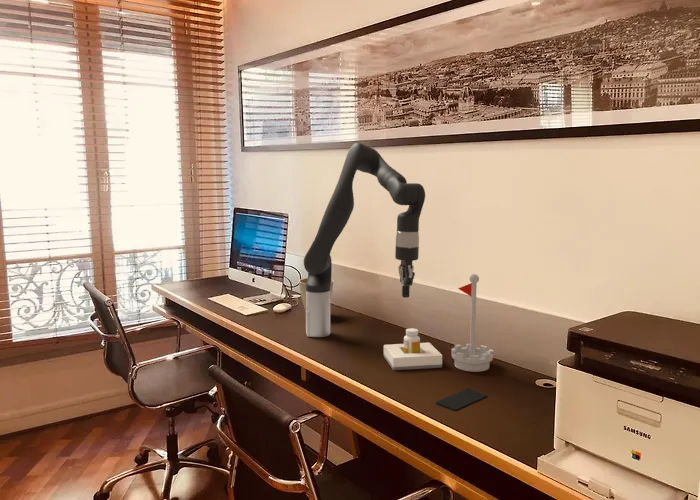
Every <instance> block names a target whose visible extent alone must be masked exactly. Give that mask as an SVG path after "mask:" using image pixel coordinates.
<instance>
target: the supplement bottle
mask: <svg viewBox="0 0 700 500" xmlns="http://www.w3.org/2000/svg"><path fill="white" fill-rule="evenodd" d="M420 343H421V338H420V336H419V330H418V329H417V328H413V327H412V328H406V329H405V335H404V336H403V344H404V354H409V353H420Z"/></svg>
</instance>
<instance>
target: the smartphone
mask: <svg viewBox="0 0 700 500" xmlns="http://www.w3.org/2000/svg"><path fill="white" fill-rule="evenodd" d="M487 398H488V394H486V393H484V392H481V391H477V390H475V389H471V388H466V389H463V390H461V391H458V392H456V393H453V394H451V395H449V396H446V397H444V398H441V399H439V400H436V401H435V404H436V406H437V405H438V406H440V407H442V408H445V409H448V410H450V411H453V412H457V411H459V410H461V409H462V410H463V409H464V408H466V407H468V406H471V405H473V404H475V403H478V402H480V401H481V400H484V399H487Z"/></svg>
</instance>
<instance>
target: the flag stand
mask: <svg viewBox="0 0 700 500" xmlns="http://www.w3.org/2000/svg"><path fill="white" fill-rule="evenodd" d="M479 281H480V277H479V275H477V274H475V273H473V274H471V275H470V276H469V282H470V283H468V284H466V285H463V286H461V287H458V290H459V291H461V292H463V293H465V294H466V295H468V296H469V297H470V299H471V300H470V327H469V328H470V329H469V330H470V331H469V332H470V335H469V338H470V339H469V343H466V344H465V345H466V346H464V347H462V345H461V344H456V345H454V347H451V358H452V359H453V360H454V366H455V367H456V368H457V369H459V370H461V371H464V372H465V371H466V372H475V373H476V372H478V373H479V372H484V371H488V370H489V369H490V362H492V361H493V359H494V350H493V349H491V348H489V346H486V345H482V344H481V345H479V347H476V345H475V344H476V319H477V317H476V316H477V315H476V312H477V310H476V309H477V283H478V282H479Z"/></svg>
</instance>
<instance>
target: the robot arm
mask: <svg viewBox="0 0 700 500" xmlns="http://www.w3.org/2000/svg"><path fill="white" fill-rule="evenodd" d="M357 171H360V172H362V173H366V174H370V175H372V176H374V177H375V178H376V179H377V182H378V183H379V185H380V186H381V187H383V188H384V189H385V190H386V191H387V192H388V193H389V196H391V200H392V201H393V202H394V203H395V204H396V205H399V206H408V208H407V210H406V211H403V212H401V213H400V212H399V213H398V214H397V217H396V219H397V220H396V236H395V251H394V252H395V253H394V254H395V257H394V258H395V259H396V260H397V261H400V263H399V266H398V273H399V282H400V284H401V297H402V298H404V299H405V298H407V299H408V298H410V291H411V290H410V288H411V286H412V285H413V281H414V279H415V275H416V274H415V271H414V270H415V269H414V267H415V266H414V265H413V261H417V260H419V251H420V250H419V249H420V247H419V245H420V235H419V230H420V228H419V227H420V225H419V224H420V217H421V214H422V211H423V207H424V204H425V200H426V191H425V188H424V186H423V185H422V184H421V183H415V182H413V183H410V182H407V178H405V177H404V175H402V174H401V173H400V172H398V171H397V170H396V169H394V168H393V167H392V166H390V165H389V164H388V163H387V161H385V159H384V158H383V156H382V155H381V154H380V152H378V151H377V150H376V149H374V148H373V147H370V146H368V145H365V144H363V143H361V142H355V143H353V144H352V145H351V147H350V148H349V150H348V153H347V154H346V157H345V160H344V162H343V165H342V169H341V172H340V175H339V178H338V180H337V183H336V185H335V188H334V191H333V193H332V195H331V197H330V199H329V202H328V204H327V206H326V208H325V211H324V214H323V216H322V218H321V221H320V224H319V226H318V230H317V232H316V235H315V238H314V240H313V241H312V243H311V245H310V247H309V249H308V250H307V252H306V254H305V255H304V258H303V266H304V269H305V270H306V272H307V278H308V280H307V283H306V310H305V334H306V336H307V337H311V338H324V337H329V336H331V299H330V284H331V279H332V269H333V268H332V261H333V260H332V256H331V253H332V249H333V247H334V245H335V243H336V241H337V239H338V238H339V236H340V235H341V234H342V233H343V230H344V228H346V225H347V224H348V222H349V219H350V217H351V216H352V213H353V211H354V207H355V198H354V197H355V196H354V189H353V182H354V179H355V175H356V173H357Z"/></svg>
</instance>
